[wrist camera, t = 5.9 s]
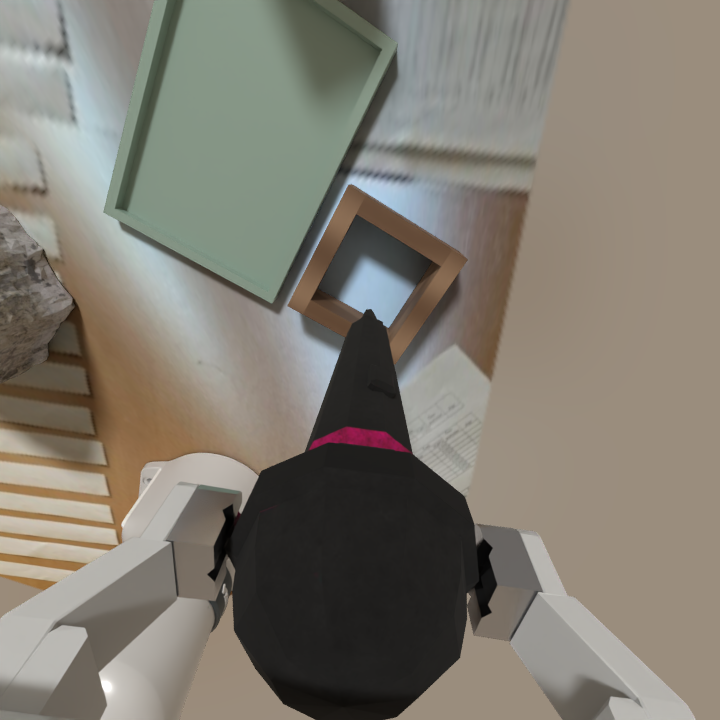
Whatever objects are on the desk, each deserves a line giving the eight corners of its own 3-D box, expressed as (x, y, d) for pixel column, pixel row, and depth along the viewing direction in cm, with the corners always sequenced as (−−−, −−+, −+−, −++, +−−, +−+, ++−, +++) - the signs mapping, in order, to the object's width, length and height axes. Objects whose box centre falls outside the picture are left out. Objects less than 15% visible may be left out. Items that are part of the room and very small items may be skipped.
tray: (276, 298, 37) (271, 303, 35) (115, 210, 34) (103, 212, 32) (396, 50, 28) (397, 43, 26) (193, -96, 25) (181, -113, 24)
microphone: (428, 292, 23) (598, 671, 5) (386, 366, 26) (407, 801, 8) (348, 253, 23) (235, 546, 5) (313, 333, 25) (144, 734, 7)
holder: (393, 347, 38) (395, 364, 35) (296, 293, 36) (287, 305, 33) (458, 251, 34) (467, 259, 30) (352, 184, 32) (348, 184, 28)
